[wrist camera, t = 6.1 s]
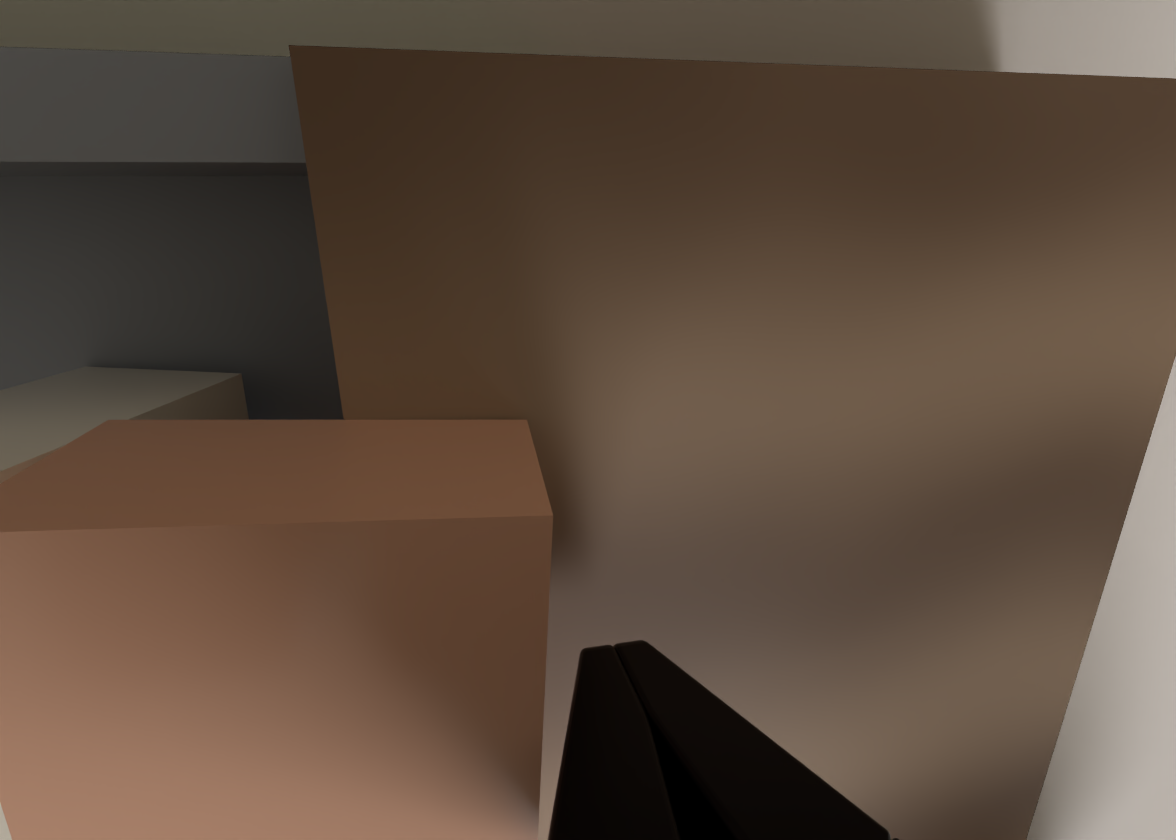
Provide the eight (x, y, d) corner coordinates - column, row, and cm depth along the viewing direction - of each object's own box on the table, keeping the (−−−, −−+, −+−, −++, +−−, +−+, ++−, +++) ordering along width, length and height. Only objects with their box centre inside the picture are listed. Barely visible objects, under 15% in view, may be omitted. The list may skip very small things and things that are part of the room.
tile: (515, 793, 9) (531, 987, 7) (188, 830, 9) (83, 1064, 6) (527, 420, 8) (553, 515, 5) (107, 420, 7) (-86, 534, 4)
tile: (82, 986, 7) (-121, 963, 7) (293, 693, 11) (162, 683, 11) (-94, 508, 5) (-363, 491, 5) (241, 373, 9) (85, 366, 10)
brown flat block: (895, 700, 16) (1025, 843, 13) (433, 786, 14) (427, 992, 10) (1007, 120, 12) (1260, 81, 8) (350, 107, 10) (288, 44, 6)
